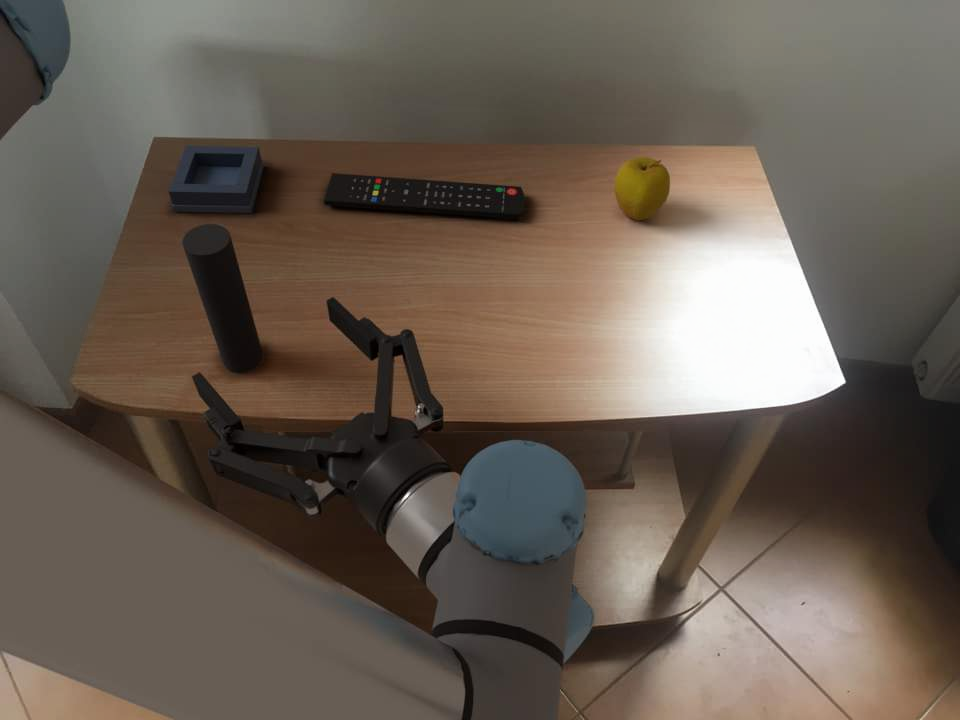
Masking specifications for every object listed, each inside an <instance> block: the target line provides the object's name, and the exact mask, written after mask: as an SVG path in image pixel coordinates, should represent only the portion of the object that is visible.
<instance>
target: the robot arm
mask: <svg viewBox="0 0 960 720" xmlns="http://www.w3.org/2000/svg"><path fill="white" fill-rule="evenodd" d="M70 28H71V27H70V21H69V16H68V13H67V9H66V6H65V3H64V0H0V141H1V140H2V139H3V138H4V137H5V136H6V135H7V133H8V132H9V131H10V130H11V129H12V128H13V126H14V125H15V124H17V122H18V121H19V120H20V119H21V118H22V117H24V115H25V114H26V113H27V112H28V111H29V110H30V109H31V108H32V107H33V106H39V105H41V104H42V103H43V102H44V101H46V100H47V99H49V97H50V96H51V93H52V91H53V86H54V85H53V84H54V83H55V82H56V80H58V78H59V77H60V75H61V74H62V73H63V71H64V69H65V67H66V66H67V63H68V61H69V57H70V53H71V39H72V38H71V37H72V36H71V29H70ZM326 307H327V314H328V319H329V321H330V323H332V325H334V327H336V328H337V330H338V331H339V332H341V333H342V334H343V335H344V336H345V337H346V338H347V339H348V340H349V341H350V342H351V343H352V344H353V345H354V346H355V347H356V348H357V349H358V350H359V351H360V352H361V353H362V354H363V355H364V356H365V357H367V358H368V359H369V360H370V361H371V362H373V361H375V360H376V359H377V372H376V387H375V395H374V404H373V405H374V407H373V409H374V410H373V412H365V413H364V412H363V411H362V412H359V414H357V415H355V416H354V417H353V418H352V419H351V420H350V421H349V422H348V423H346V424H343V425H340V426H338V427H337V428H335V429H334V430H332V431H331V435H330V436H329V438H328V437H321V436H311V437H309V438H305V437H304V438H303V437H295V436H288V435H281V434H274V433H267V432H266V433H265V432H260V431H259V432H257V431H251V430H245V428H244V425H243V423H242V420H241V418H240V417H239V416H238V415H237V414H236V413H235V411H234V410H233V409H232V408H231V407H230V406H229V404H228V403H227V402H226V401H225V400H224V398H223V397H222V396H221V395H220V394H219V393H218V392H217V390H216V389H215V388H214V387H213V385H212V384H211V383H210V382H209V381H208V380H207V378H206V377H205V376H204V375H203V374H202V372H201V371H199V372H197V373H195V374H193V375H192V376H191V378H192V379H191V380H192V381H193V383H194V386H195V388H196V391H197V394H198V396H199V397H200V398H201V400H202V401H203V402H204V403H205V404H206V406H207V407H208V408H209V409H207V410H205V411H204V412H203V416H204V419H205V421H206V423H207V426H208V428H209V429H210V431H211V432H212V433H213V434H214V435H215V436H216V438H217V439H218V440H219V441H220V442H219V444H218V445H217V446H213V447H211V448H210V449H209V450H208V452H207V457H208V460H209V463H210V464H211V467H212V469H213V471H214V473H215V475H217V476H218V477H221V478H223V479H227V480H229V481H231V482H234V483H237V484H239V485H241V486H244V487H247V488H249V489H253V490H255V491H257V492H259V493H263V494H266V495H267V496H270V497H273V498H275V499H278V500H281V501H283V502H285V503H289V504H291V505H294V507H296V508H297V509H298V510H299V511H300V512H301V513H302V514H304V516H306V518H308V519H310V520H316V519H319V518H320V517H321V515H322V507H324V505H326V504H327V503H328V502H329V501H330V500H331V499H332V498H334V496H336V495H338V496H341V497H343V498H345V499H346V500H348V501H349V502H350V504H351V505H352V506H353V507H354V508H355V509H356V510H357V512H359V514H360V515H361V516H362V518H364V520H366V522H367V523H368V524H369V525H370V526H371V527H372V528H373V530H374V531H375V532H376V533H377V535H379V536H381V537H385V541H386V544H387V545H388V546H389V547H390V548H391V549H392V550H393V552H394V553H395V554H396V555H397V556H398V557H399V559H400V560H401V561H402V562H403V563H404V564H405V565H406V566H407V567H408V569H409V570H410V571H411V572H412V573H413V575H414V576H415V577H416V578H417V579H418V580H420V582H421V583H422V584H423V585H424V586H425V587H426V588H427V590H429V592H430V593H431V594H432V595H433V596H434V597H435V599H436V600H437V605H436V609H435V614H434V618H433V623H432V628H431V631H430V633H428V632H426V631H425V630H423V629H421V628H419V627H418V626H415V625H414V624H412V623H411V622H409V621H407V620H405V619H404V618H402V617H400V616H398V615H397V614H395V613H393V612H391V611H390V610H388V609H387V608H385V607H383V606H381V605H379V604H377V603H376V602H374V601H373V600H371V599H369V598H368V597H365V596H364V595H362V594H360V593H359V592H357V591H355V590H353V589H352V588H350V587H348V586H347V585H345V584H343V583H342V582H339V581H337V580H336V579H334V578H332V577H331V576H329V575H327V574H325V573H324V572H322V571H320V570H318V569H317V568H315V567H313V566H312V565H310V564H308V563H306V562H305V561H303V560H301V559H300V558H298V557H296V556H294V555H293V554H291V553H289V552H287V551H286V550H284V549H282V548H280V547H278V546H277V545H275V544H273V543H272V542H270V541H269V540H267V539H264V538H263V537H261V536H260V535H258V534H256V533H254V532H252V531H251V530H249V529H248V528H246V527H244V526H242V525H241V524H238V523H237V522H235V521H234V520H231V518H229V517H226V516H225V515H223V514H222V513H220V512H218V511H217V510H215V509H212V507H209V506H208V505H206V504H204V503H203V502H200V501H199V500H197V499H195V498H194V497H192V496H190V495H188V494H186V493H185V492H183V491H181V490H179V489H178V488H177V487H174V486H173V485H172V484H170V483H167V482H166V481H164V480H163V479H161V478H159V477H157V476H155V475H154V474H153V473H150V472H149V471H147V470H145V469H143V468H141V467H140V466H139V465H136V464H134V463H133V462H131V461H129V460H127V459H126V458H124V457H123V456H121V455H119V454H117V453H116V452H113V451H112V450H110V449H109V448H107V447H105V446H104V445H102V444H100V443H99V442H96V441H94V440H93V439H91V438H90V437H87V436H86V435H85V434H82V433H81V432H80V431H78V430H75V429H73V428H72V427H71V426H69V425H67V424H66V423H64V422H61V421H60V420H58V419H57V418H55V417H53V416H52V415H50V414H48V413H46V412H44V411H43V410H41V409H39V408H38V407H36V406H34V405H32V404H30V403H29V402H27V401H25V400H24V399H22V398H20V397H18V396H17V395H15V394H12V393H11V392H10V391H8V390H6V389H5V388H3V387H1V386H0V652H2V653H4V654H8V655H9V656H13V657H15V658H17V659H20V660H22V661H25V662H28V663H30V664H33V665H35V666H38V667H41V668H43V669H45V670H48V671H51V672H53V673H55V674H58V675H60V676H63V677H65V678H68V679H70V680H73V681H75V682H78V683H80V684H83V685H85V686H88V687H90V688H93V689H96V690H98V691H99V692H100V691H101V692H102V693H106V694H108V695H111V696H113V697H116V698H119V699H121V700H123V701H125V702H128V703H131V704H134V705H136V706H139V707H141V708H143V709H146V710H148V711H151V712H153V713H156V714H159V715H161V716H163V717H166V718H168V719H171V720H558V718H559V710H560V697H561V689H562V677H563V670H564V664H565V663H566V662H567V661H568V660H569V659H570V657H571V656H573V654H574V653H575V652H576V651H577V650H578V648H579V647H580V646H581V645H582V643H583V642H584V641H585V639H586V638H587V637H588V635H589V634H590V632H591V630H592V628H593V627H594V623H595V612H594V610H593V608H592V606H591V605H590V603H589V602H588V601H587V600H586V599H585V598H584V597H583V595H581V593H580V592H579V589H578V587H577V586H576V585H575V584H574V583H573V581H574V573H575V564H576V556H577V550H578V544H579V541H580V540H581V539H582V538H583V535H584V533H585V532H584V531H585V518H586V508H587V495H586V489H585V485H584V482H583V479H582V477H581V475H580V473H579V472H578V470H577V468H576V467H575V465H573V463H571V461H570V460H569V459H568V458H567V457H566V456H565V455H563V454H562V453H561V452H559V451H557V450H556V449H554V448H553V447H550V446H549V445H546V444H543V443H540V442H535V441H532V440H522V439H511V440H505V441H500V442H497V443H494V444H491V445H488V446H487V447H485V448H484V449H482V450H481V451H479V452H477V453H476V454H475V455H474V456H473V457H472V458H471V459H470V460H469V462H467V464H466V466H465V467H464V468H463V471H462V472H461V474H460V473H458V472H456V471H452V466H451V465H450V464H449V463H448V462H447V461H446V459H444V458H443V456H441V455H440V454H439V453H438V452H437V451H436V450H435V449H434V448H433V447H432V446H431V445H430V444H429V443H428V442H427V441H426V440H425V439H423V438H422V437H421V435H423V434H425V433H427V432H429V431H430V430H431V431H432V432H437V433H438V432H441V431H442V430H443V429H444V421H445V420H444V406H443V404H441V402H440V401H439V400H438V399H437V397H436V396H435V395H434V393H432V391H431V387H430V384H429V381H428V377H427V373H426V371H425V368H424V364H423V360H422V357H421V354H420V350H419V347H418V344H417V343H418V342H417V340H416V337H415V334H414V331H413V330H411V329H409V328H405V329H402V330H401V331H400V333H399V334H397V335H396V334H395V335H390V334H387V333H385V332H384V331H383V330H381V328H380V327H379V326H377V324H375V323H374V322H373V321H372V320H371V319H369V318H367V317H365V316H363V317H362V318H360V319H358V318H356V317H355V316H354V315H353V313H351V312H350V311H349V310H348V309H347V308H346V307H345V306H344V305H343V304H342V303H340V302H339V301H338V300H337V299H336V298H335V297H334V296H331V297H330V298H328V299H327V300H326ZM399 356H401V357H402V359H403V360H402V361H403V364H404V368H405V371H406V374H407V379H408V382H409V385H410V389H411V392H412V397H413V400H414V403H415V408H414V419H413V420H411V419H407V418H403V417H399V416H393V392H394V373H395V372H394V371H395V363H396V361H395V359H396V358H395V357H399ZM324 455H326V456H324ZM267 463H271V464H277V465H283V466H291V467H300V468H307V469H309V470H311V471H312V472H315V473H321V474H326V480H325V481H324V482H317V481H316V480H313V479H311V478H309V479H306V480H303V479H301V478H300V477H298V476H297V475H295V474H292V473H290V472H287V471H284V470H282V469H280V468H276V467H273V466H271V465H268V464H267Z"/></svg>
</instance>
